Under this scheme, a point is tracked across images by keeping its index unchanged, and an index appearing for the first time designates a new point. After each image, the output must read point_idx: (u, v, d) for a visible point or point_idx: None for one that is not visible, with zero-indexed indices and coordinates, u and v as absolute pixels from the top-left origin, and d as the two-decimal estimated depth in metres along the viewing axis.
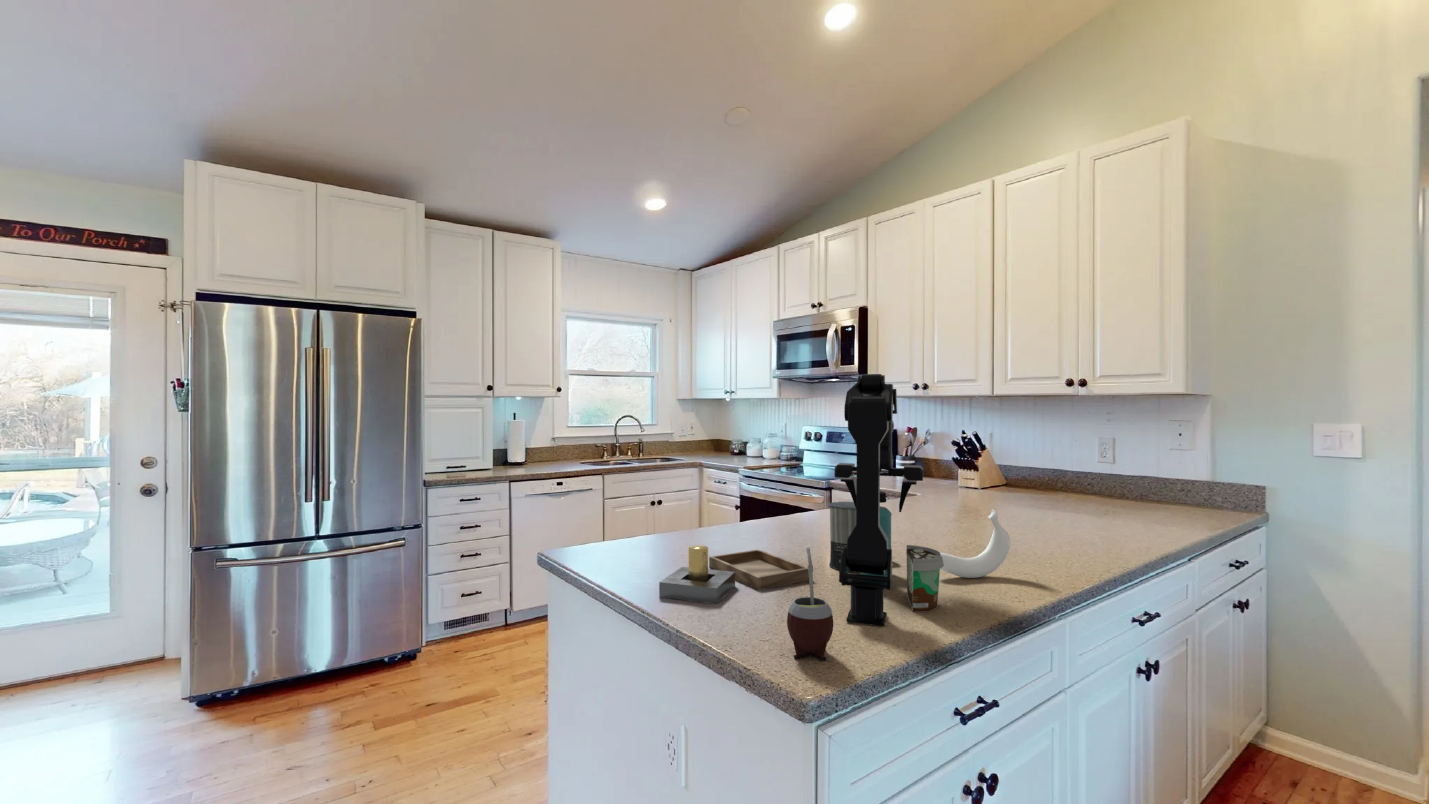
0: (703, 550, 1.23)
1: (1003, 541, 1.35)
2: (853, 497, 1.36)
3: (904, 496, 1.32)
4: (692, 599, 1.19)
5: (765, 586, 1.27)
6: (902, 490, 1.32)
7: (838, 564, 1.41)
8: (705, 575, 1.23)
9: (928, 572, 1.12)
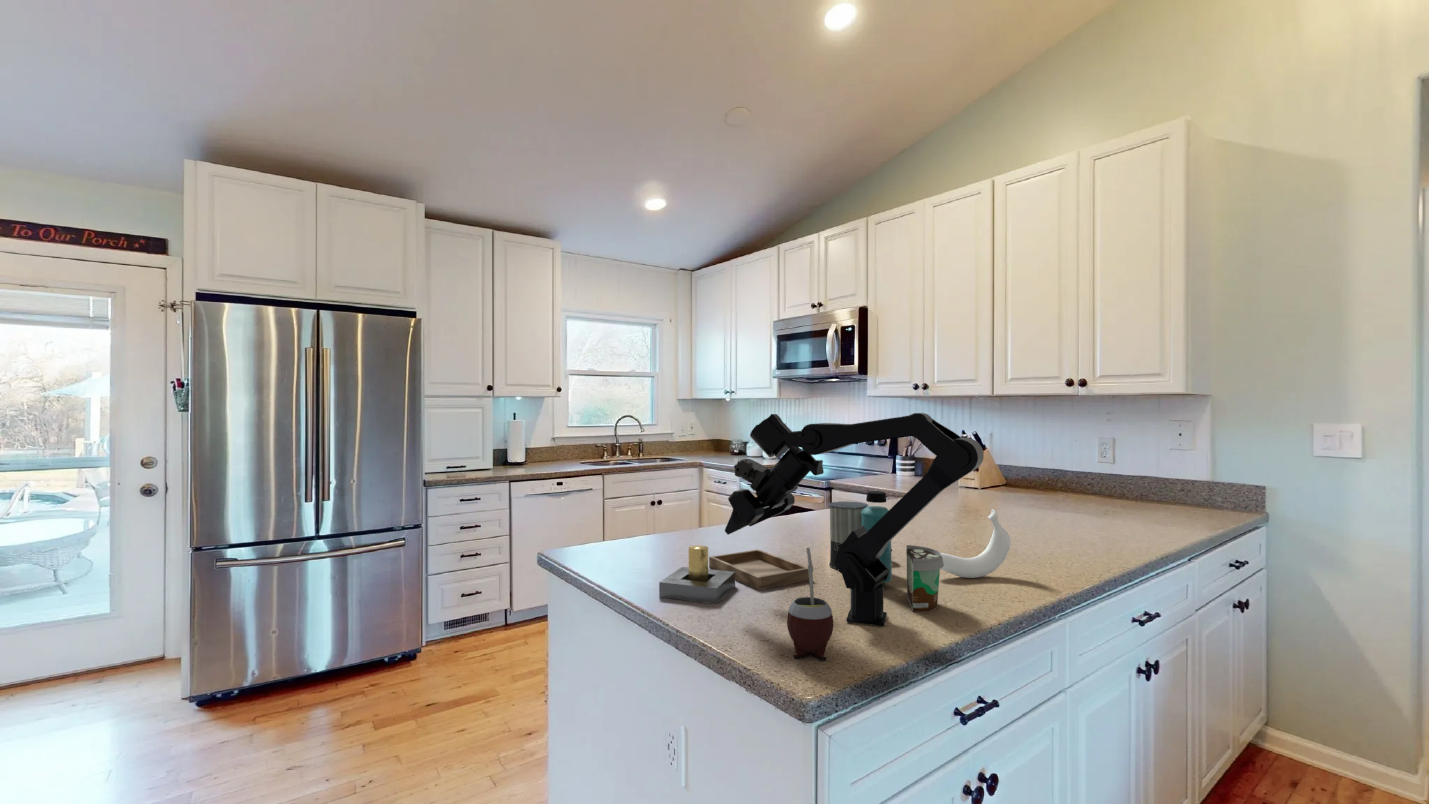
0: (703, 550, 1.23)
1: (1003, 541, 1.35)
2: (738, 529, 1.16)
3: (767, 518, 1.25)
4: (692, 599, 1.19)
5: (765, 586, 1.27)
6: (772, 516, 1.24)
7: None
8: (705, 575, 1.23)
9: (928, 572, 1.12)
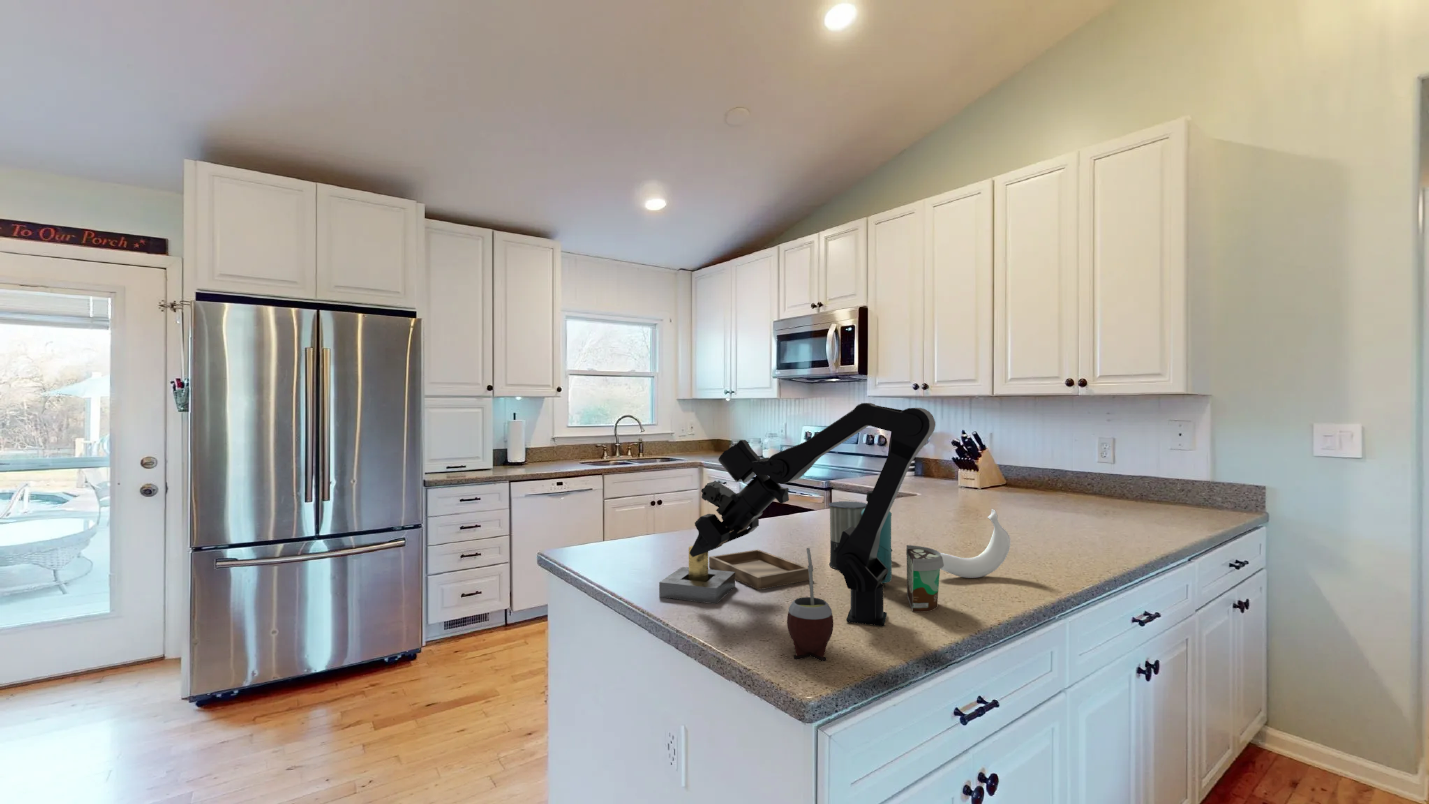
0: None
1: (1003, 541, 1.35)
2: (703, 552, 1.18)
3: (731, 540, 1.27)
4: (692, 599, 1.19)
5: (765, 586, 1.27)
6: (736, 538, 1.26)
7: None
8: (705, 575, 1.23)
9: (928, 572, 1.12)
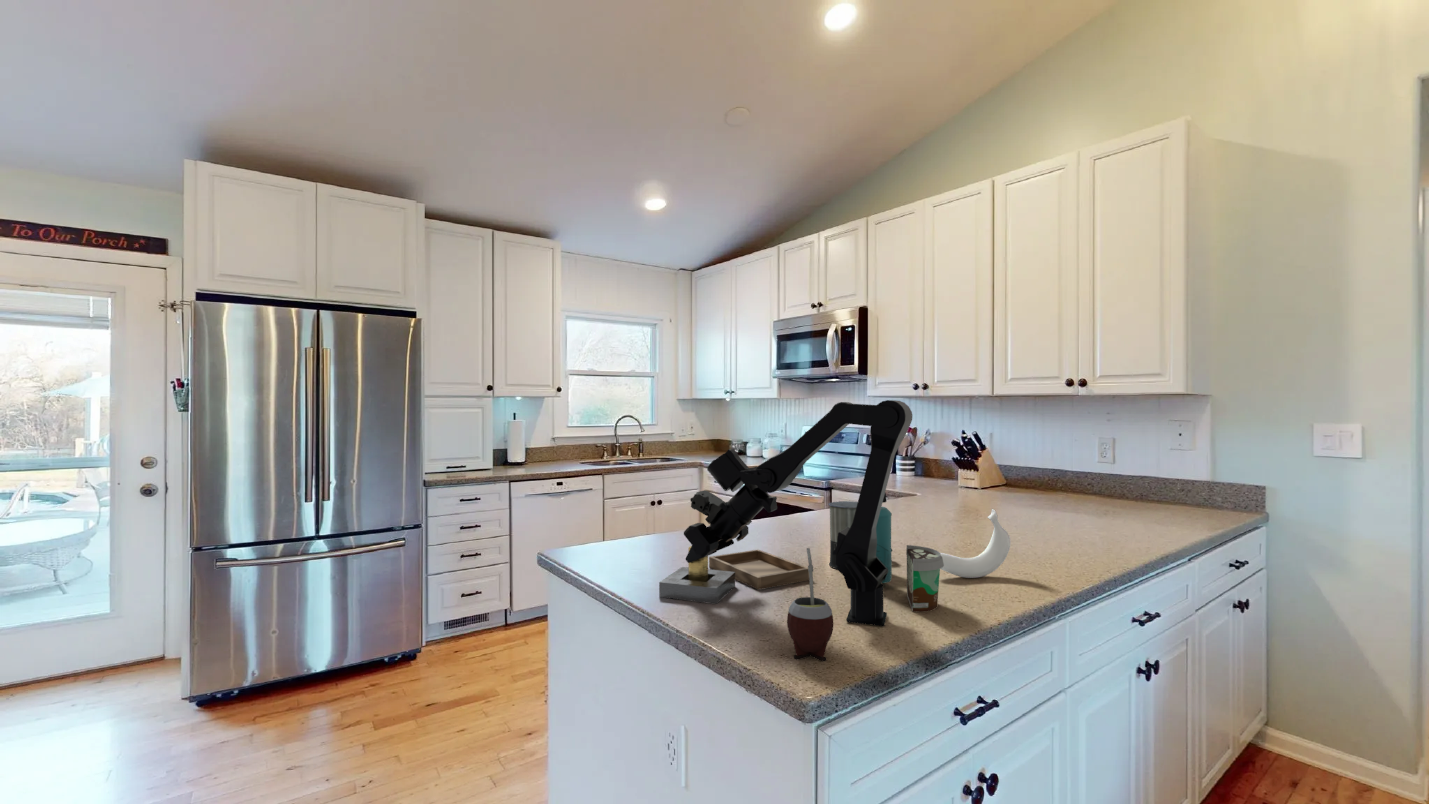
0: None
1: (1003, 541, 1.35)
2: (699, 558, 1.21)
3: None
4: (692, 599, 1.19)
5: (765, 586, 1.27)
6: None
7: None
8: (705, 575, 1.23)
9: (928, 572, 1.12)
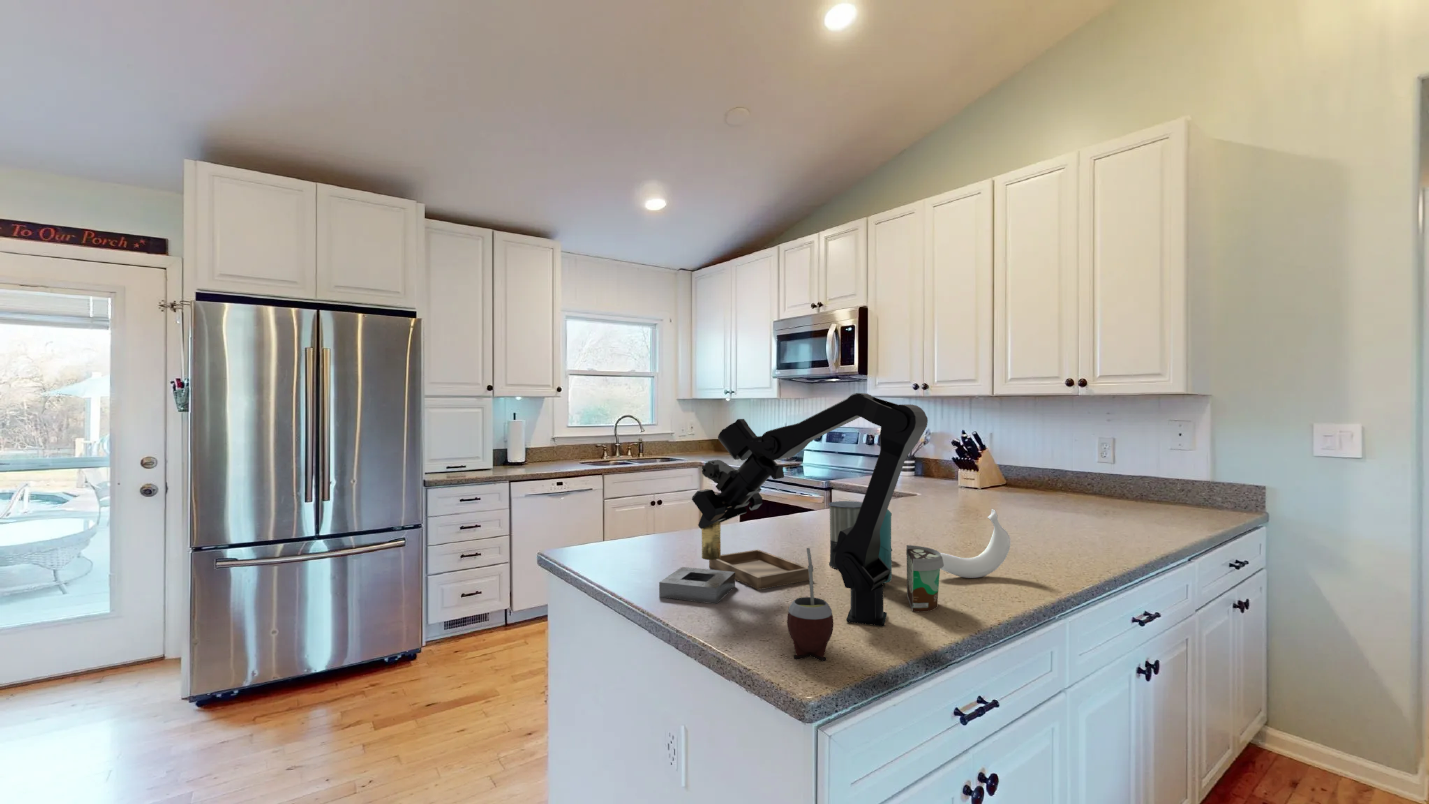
0: None
1: (1003, 541, 1.35)
2: (710, 524, 1.25)
3: None
4: (692, 599, 1.19)
5: (765, 586, 1.27)
6: (733, 517, 1.29)
7: None
8: (717, 541, 1.27)
9: (928, 572, 1.12)
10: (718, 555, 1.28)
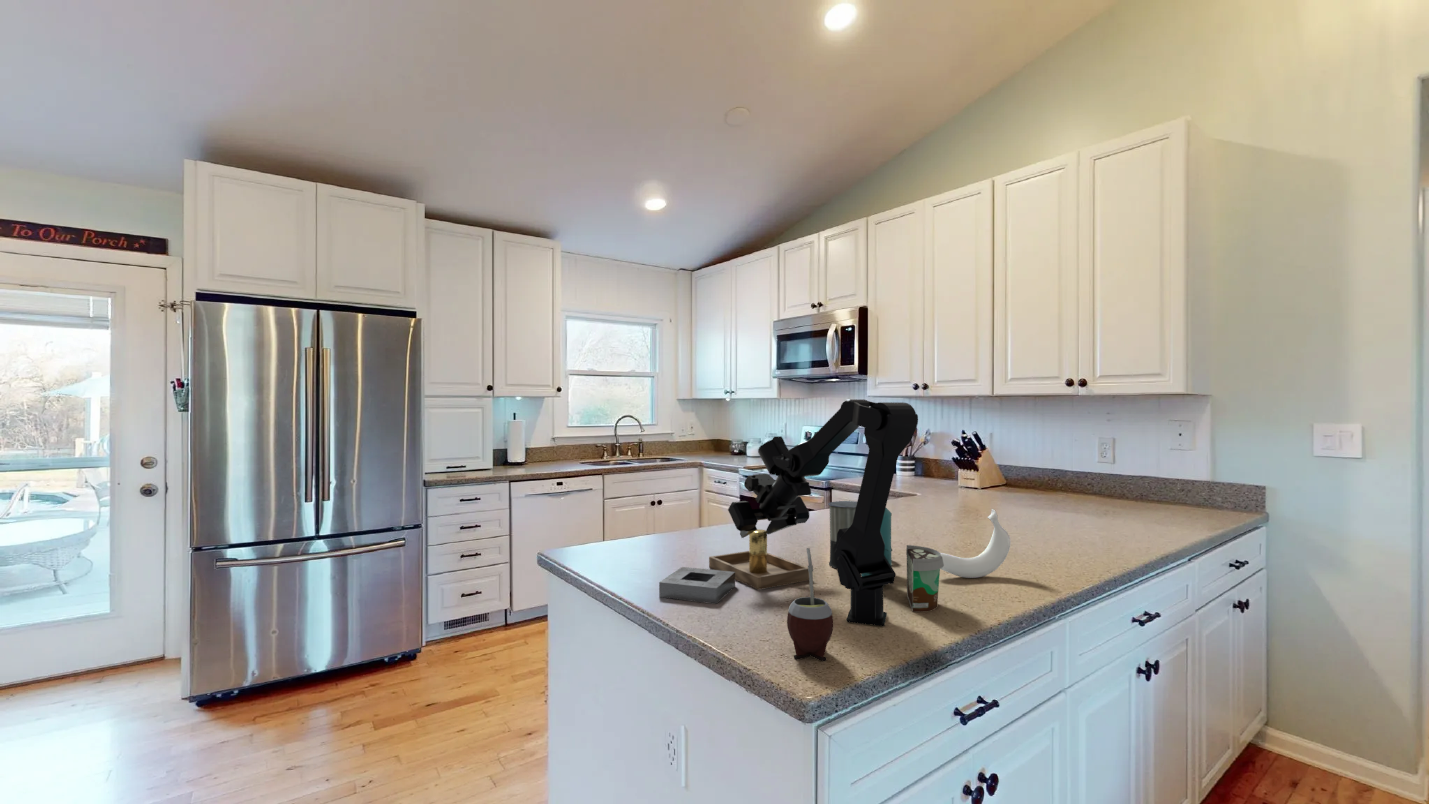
0: (759, 534, 1.36)
1: (1003, 541, 1.35)
2: (746, 534, 1.34)
3: (781, 529, 1.38)
4: (692, 599, 1.19)
5: (765, 586, 1.27)
6: (783, 528, 1.37)
7: None
8: (761, 557, 1.36)
9: (928, 572, 1.12)
10: (762, 570, 1.36)
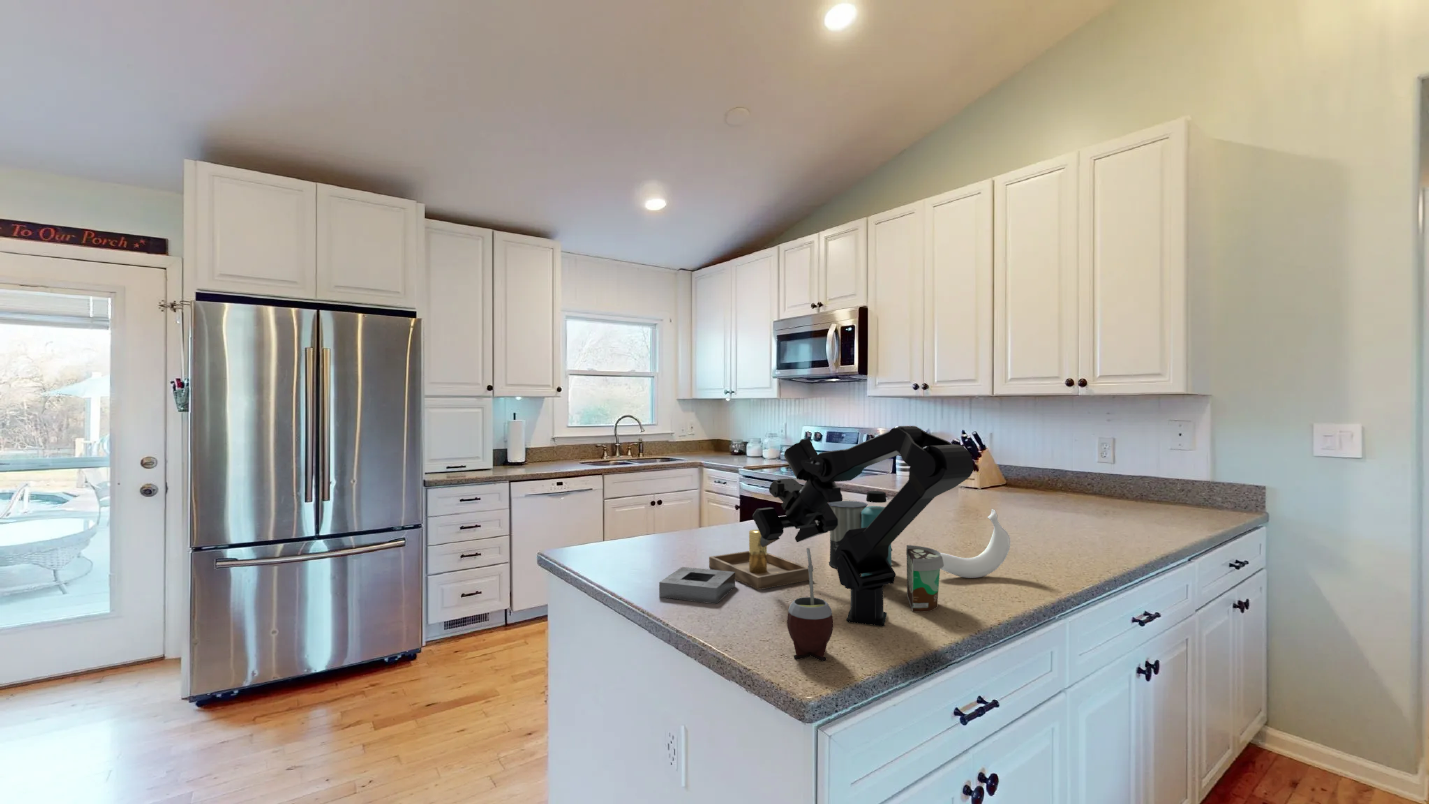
0: (758, 534, 1.36)
1: (1003, 541, 1.35)
2: (767, 544, 1.26)
3: None
4: (692, 599, 1.19)
5: (765, 586, 1.27)
6: (813, 535, 1.29)
7: None
8: (761, 557, 1.36)
9: (928, 572, 1.12)
10: (762, 570, 1.36)
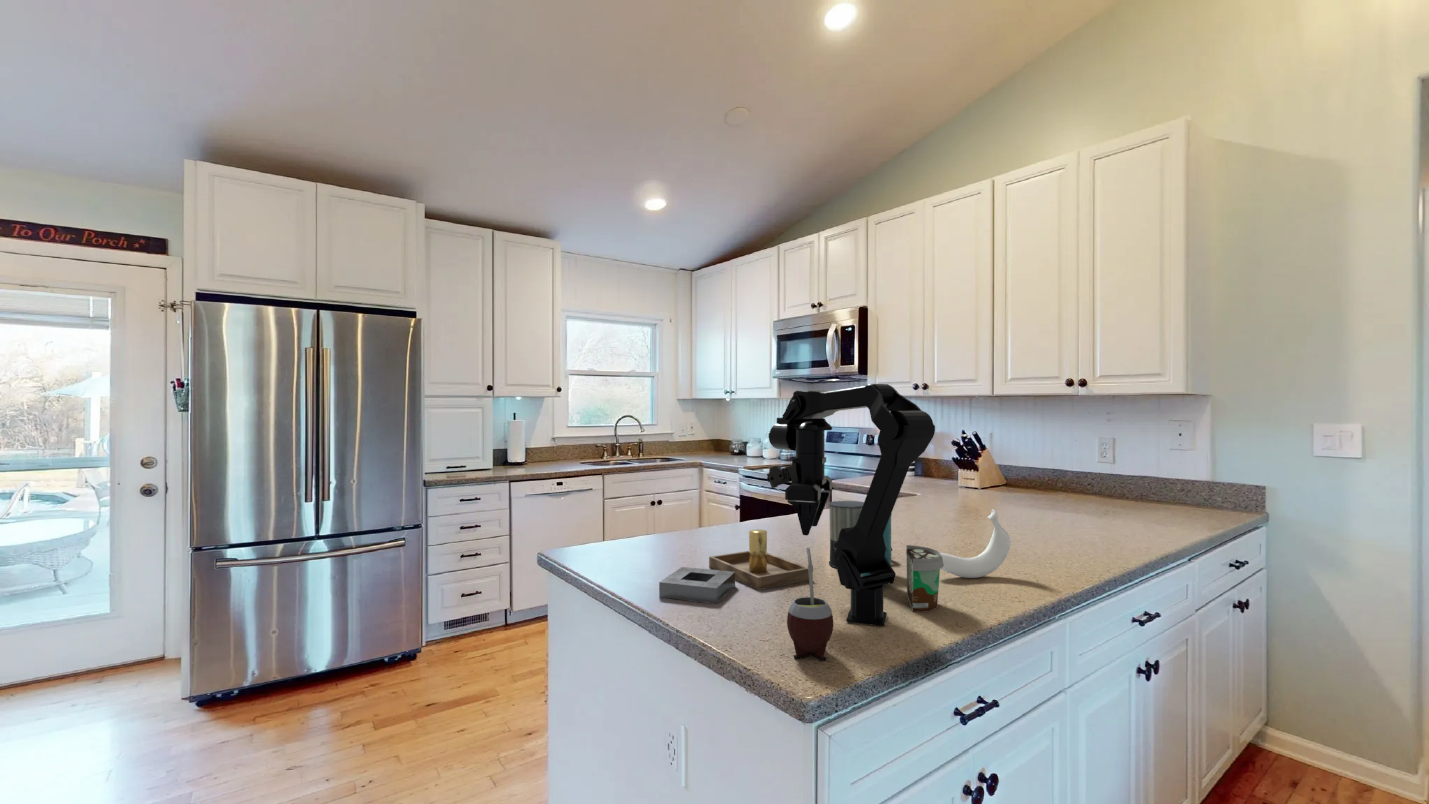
0: (758, 534, 1.36)
1: (1003, 541, 1.35)
2: (813, 521, 1.17)
3: (823, 508, 1.27)
4: (692, 599, 1.19)
5: (765, 586, 1.27)
6: (825, 502, 1.26)
7: None
8: (761, 557, 1.36)
9: (928, 572, 1.12)
10: (762, 570, 1.36)
